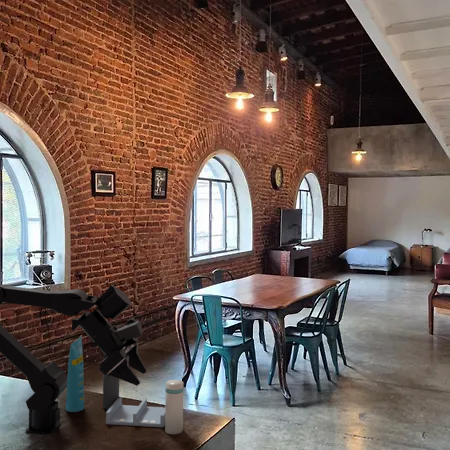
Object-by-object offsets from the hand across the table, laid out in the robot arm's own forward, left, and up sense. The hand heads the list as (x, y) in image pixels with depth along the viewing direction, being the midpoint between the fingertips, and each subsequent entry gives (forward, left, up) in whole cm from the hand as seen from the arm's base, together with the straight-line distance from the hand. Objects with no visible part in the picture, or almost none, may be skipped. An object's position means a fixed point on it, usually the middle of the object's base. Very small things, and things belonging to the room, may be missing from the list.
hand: (142, 378), depth 124 cm
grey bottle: (-12, +14, -13) cm, 23 cm away
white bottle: (+8, +1, -13) cm, 15 cm away
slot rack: (-2, +8, -13) cm, 15 cm away
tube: (-21, +11, -13) cm, 27 cm away
